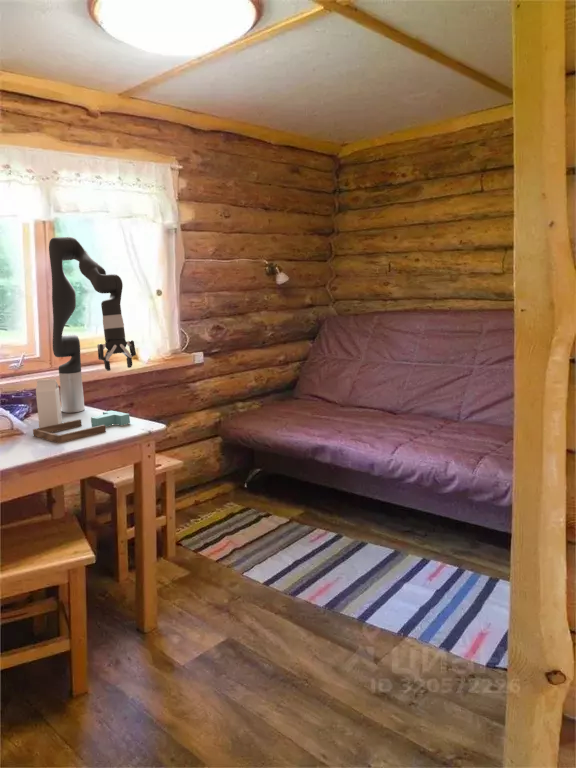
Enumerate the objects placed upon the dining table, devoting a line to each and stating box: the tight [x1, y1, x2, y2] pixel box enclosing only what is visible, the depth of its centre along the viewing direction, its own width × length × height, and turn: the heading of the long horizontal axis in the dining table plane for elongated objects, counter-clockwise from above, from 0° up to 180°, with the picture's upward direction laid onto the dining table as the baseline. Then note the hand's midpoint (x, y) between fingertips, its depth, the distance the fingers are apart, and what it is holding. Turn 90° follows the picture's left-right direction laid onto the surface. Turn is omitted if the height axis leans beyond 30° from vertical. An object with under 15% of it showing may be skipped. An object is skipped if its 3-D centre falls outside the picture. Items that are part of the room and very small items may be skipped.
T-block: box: [90, 410, 131, 428], centre depth 237 cm, size 12×12×4 cm
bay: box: [32, 418, 107, 444], centre depth 224 cm, size 17×19×2 cm
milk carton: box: [35, 378, 63, 428], centre depth 234 cm, size 7×7×19 cm
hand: (119, 369), depth 232 cm, fingers open, 8 cm apart
